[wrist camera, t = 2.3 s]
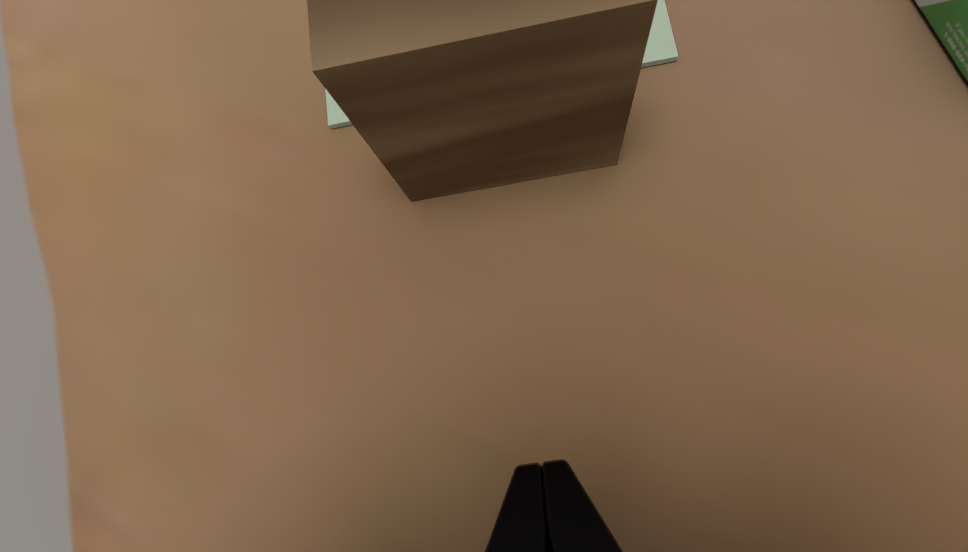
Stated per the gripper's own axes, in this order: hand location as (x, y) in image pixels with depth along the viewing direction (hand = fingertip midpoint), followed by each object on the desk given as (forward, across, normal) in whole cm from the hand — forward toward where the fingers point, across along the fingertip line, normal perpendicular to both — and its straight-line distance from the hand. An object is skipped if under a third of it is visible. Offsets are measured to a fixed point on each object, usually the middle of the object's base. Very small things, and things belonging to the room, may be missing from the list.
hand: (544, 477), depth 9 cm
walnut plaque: (+15, 0, 0) cm, 15 cm away
